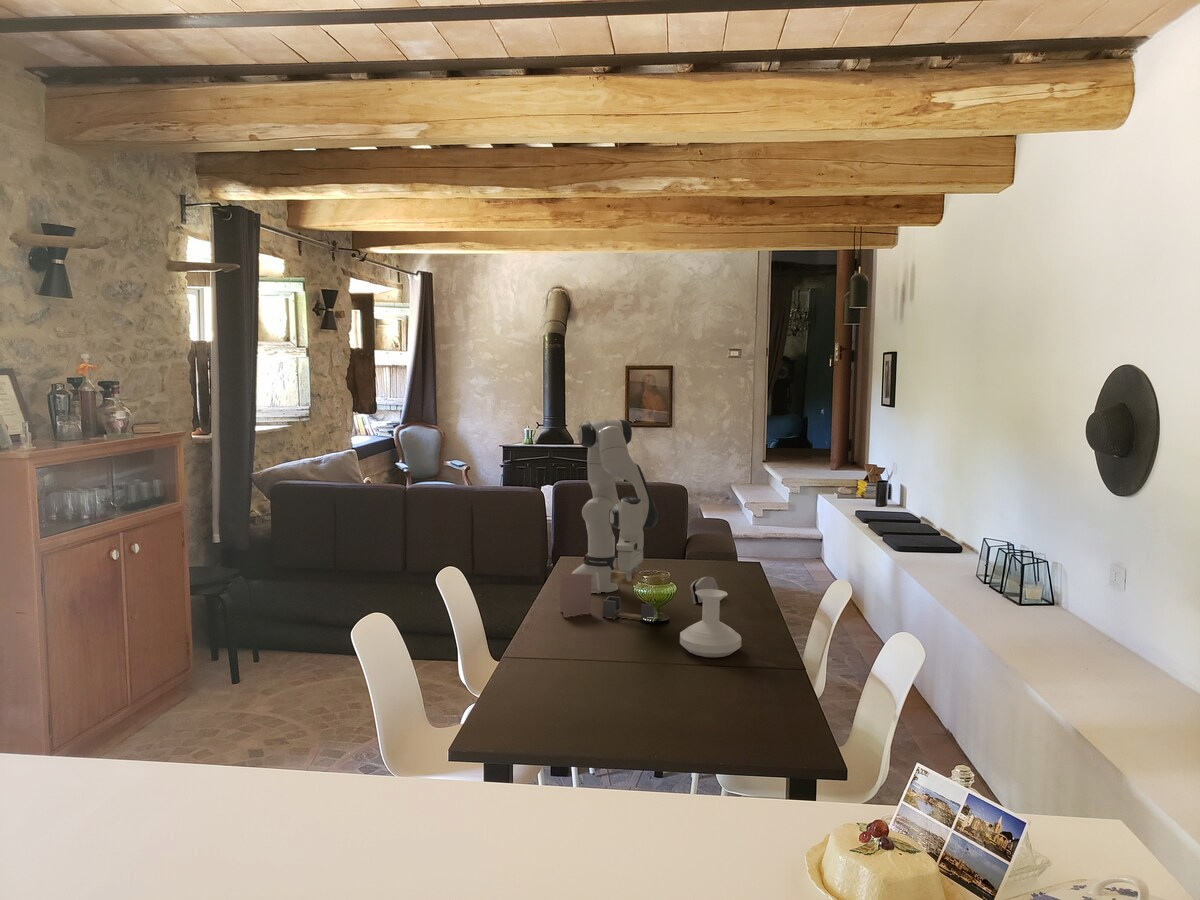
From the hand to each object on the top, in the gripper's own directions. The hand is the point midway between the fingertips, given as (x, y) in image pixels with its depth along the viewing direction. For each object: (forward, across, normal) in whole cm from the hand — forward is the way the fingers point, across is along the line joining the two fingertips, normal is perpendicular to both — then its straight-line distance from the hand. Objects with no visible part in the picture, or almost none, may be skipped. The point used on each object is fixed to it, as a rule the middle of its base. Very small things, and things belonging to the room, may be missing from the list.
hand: (631, 579), depth 300 cm
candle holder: (+15, +26, +34) cm, 46 cm away
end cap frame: (+15, 0, 0) cm, 15 cm away
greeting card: (+14, +4, -21) cm, 26 cm away
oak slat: (+2, 0, 0) cm, 2 cm away
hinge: (+15, -35, +21) cm, 44 cm away
